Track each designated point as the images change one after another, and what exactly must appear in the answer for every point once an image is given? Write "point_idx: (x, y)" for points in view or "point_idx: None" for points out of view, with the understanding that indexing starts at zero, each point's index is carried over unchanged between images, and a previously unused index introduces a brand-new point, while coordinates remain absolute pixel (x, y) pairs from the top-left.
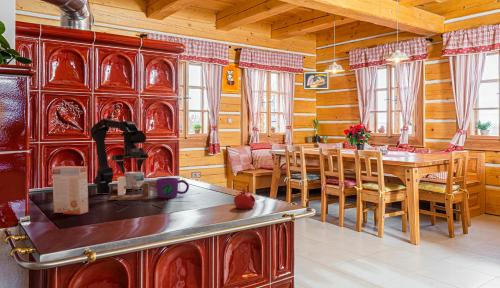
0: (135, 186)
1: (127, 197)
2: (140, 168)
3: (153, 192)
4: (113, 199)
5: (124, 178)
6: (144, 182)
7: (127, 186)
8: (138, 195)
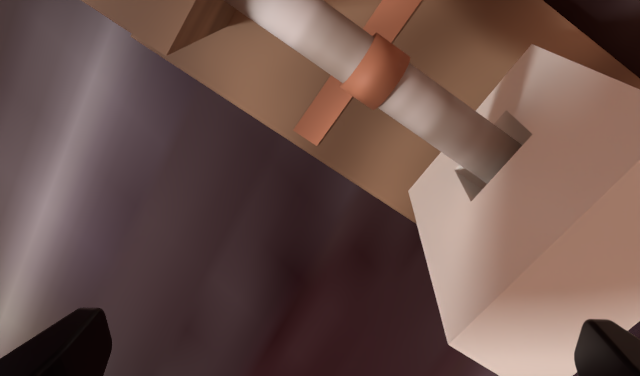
0: (353, 30)
1: (471, 27)
2: (1, 364)
3: (9, 239)
4: (637, 79)
5: (527, 241)
6: (143, 40)
7: (465, 117)
8: (285, 64)
